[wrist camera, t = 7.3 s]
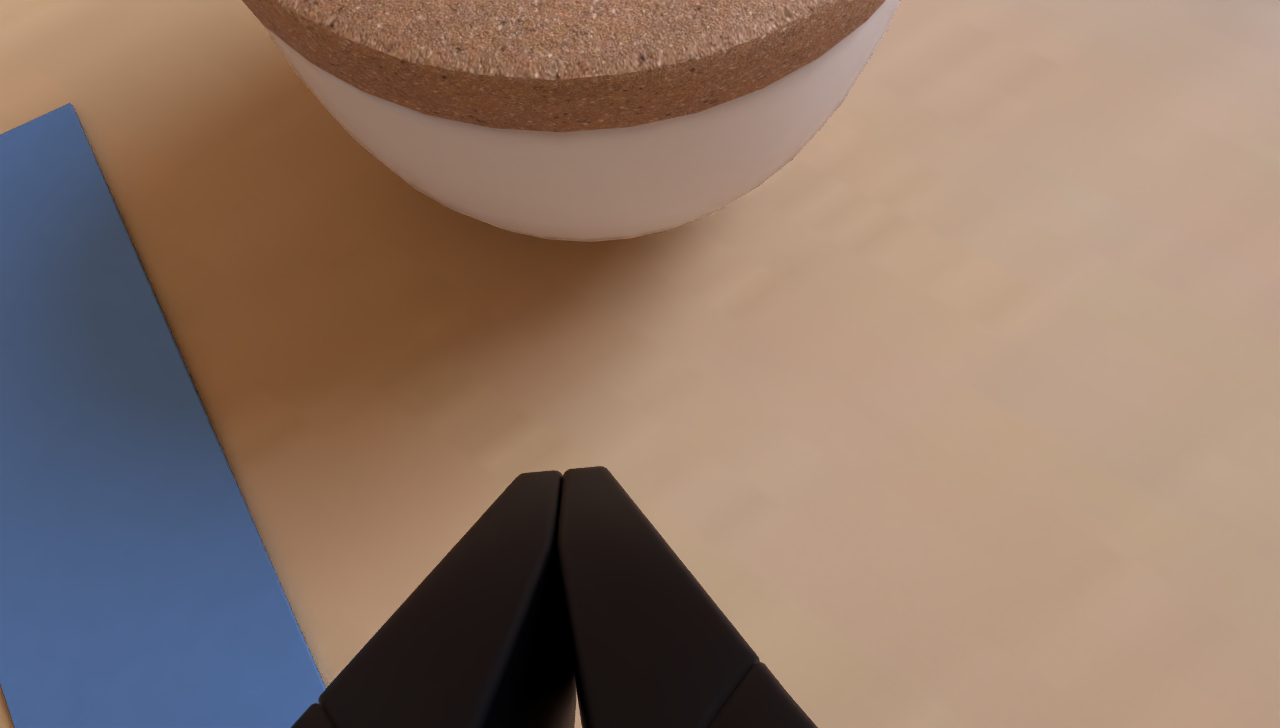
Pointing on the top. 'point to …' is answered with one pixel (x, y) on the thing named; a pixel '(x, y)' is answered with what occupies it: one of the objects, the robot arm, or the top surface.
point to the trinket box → (580, 98)
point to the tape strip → (117, 484)
